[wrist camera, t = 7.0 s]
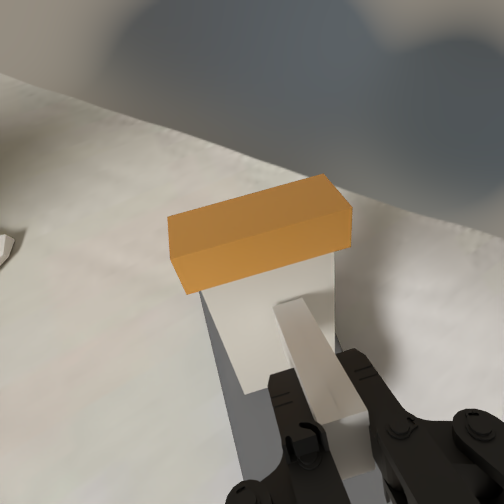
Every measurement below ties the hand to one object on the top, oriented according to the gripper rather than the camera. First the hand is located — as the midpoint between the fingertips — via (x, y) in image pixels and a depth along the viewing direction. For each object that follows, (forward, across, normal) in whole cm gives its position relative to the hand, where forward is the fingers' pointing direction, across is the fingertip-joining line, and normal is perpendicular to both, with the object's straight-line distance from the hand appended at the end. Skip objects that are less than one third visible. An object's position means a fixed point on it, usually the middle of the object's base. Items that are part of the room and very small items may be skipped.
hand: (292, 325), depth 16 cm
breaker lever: (+4, -1, -7) cm, 8 cm away
